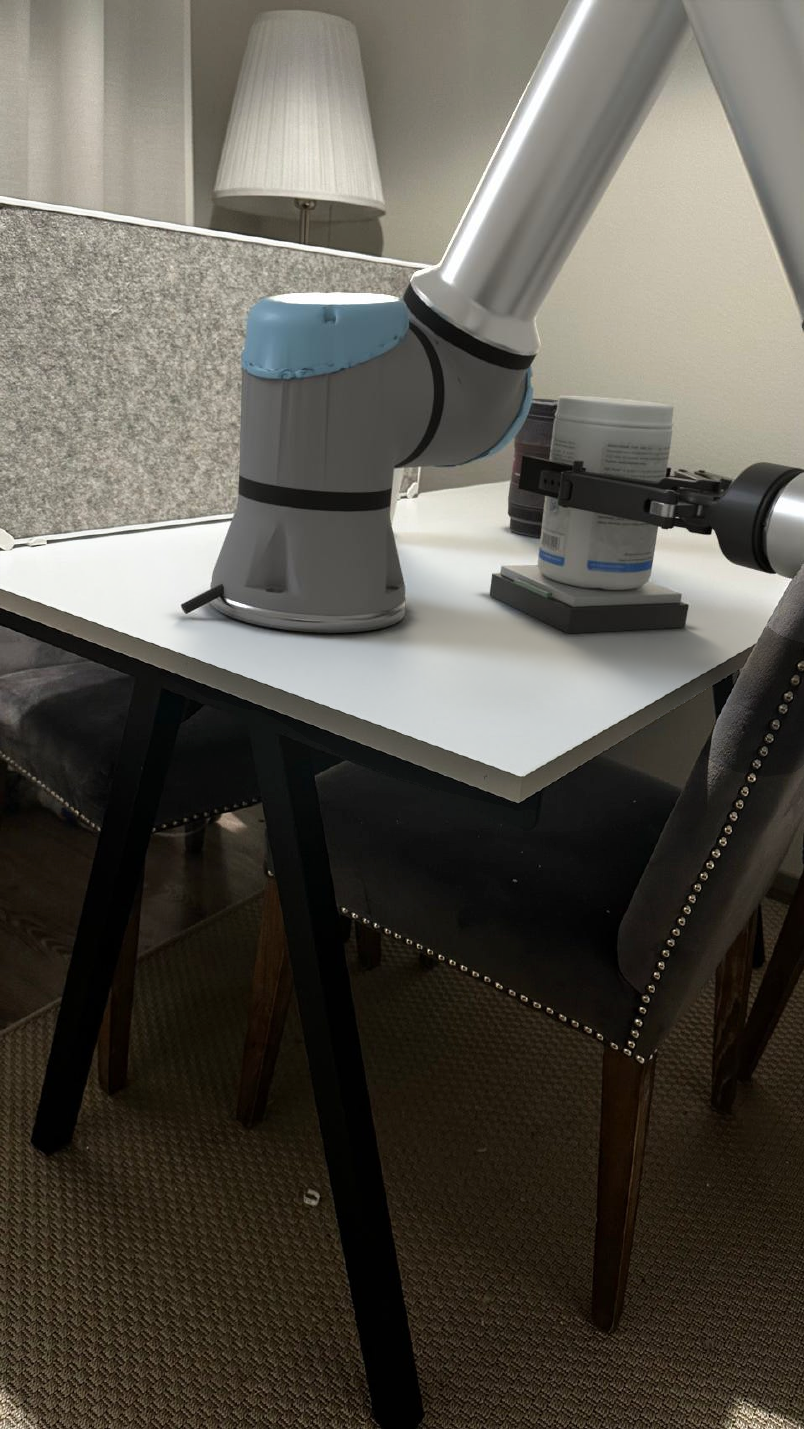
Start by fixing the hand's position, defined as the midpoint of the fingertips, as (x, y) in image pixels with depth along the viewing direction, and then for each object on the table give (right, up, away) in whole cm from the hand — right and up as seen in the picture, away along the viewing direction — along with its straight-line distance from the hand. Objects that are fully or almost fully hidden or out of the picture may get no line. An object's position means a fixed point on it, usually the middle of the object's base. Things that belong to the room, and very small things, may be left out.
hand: (567, 472), depth 93 cm
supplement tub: (+2, -9, 0) cm, 10 cm away
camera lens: (+2, +1, +36) cm, 36 cm away
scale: (+2, -12, +1) cm, 12 cm away
